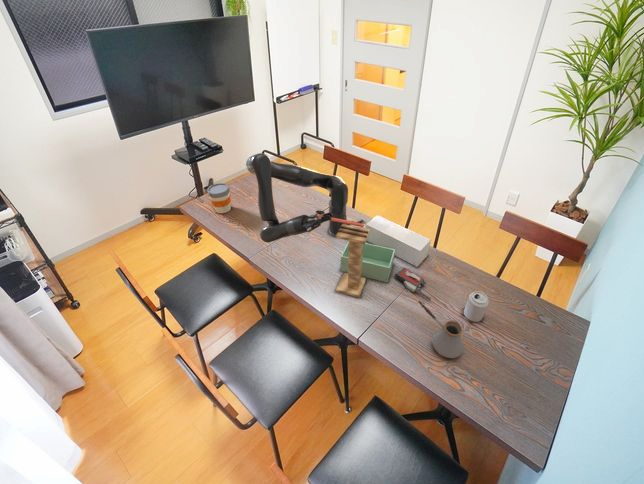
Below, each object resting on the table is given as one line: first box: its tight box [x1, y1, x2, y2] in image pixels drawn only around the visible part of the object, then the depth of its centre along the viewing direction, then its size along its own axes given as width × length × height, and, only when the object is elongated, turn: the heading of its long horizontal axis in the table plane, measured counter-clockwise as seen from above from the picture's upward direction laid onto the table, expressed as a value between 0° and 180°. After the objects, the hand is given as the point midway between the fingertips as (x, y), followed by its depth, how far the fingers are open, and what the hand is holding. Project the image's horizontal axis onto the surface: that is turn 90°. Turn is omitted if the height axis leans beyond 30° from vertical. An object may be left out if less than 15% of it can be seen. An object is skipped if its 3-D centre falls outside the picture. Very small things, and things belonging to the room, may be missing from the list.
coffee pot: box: [416, 300, 464, 359], centre depth 125 cm, size 21×12×15 cm, turn 45°
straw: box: [317, 215, 365, 228], centre depth 132 cm, size 20×1×1 cm, turn 71°
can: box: [463, 290, 490, 323], centre depth 135 cm, size 8×8×12 cm
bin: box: [340, 240, 395, 283], centre depth 159 cm, size 23×13×10 cm, turn 71°
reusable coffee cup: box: [206, 182, 232, 214], centre depth 198 cm, size 13×13×15 cm
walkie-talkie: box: [394, 267, 432, 301], centre depth 151 cm, size 9×4×20 cm
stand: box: [335, 224, 370, 298], centre depth 142 cm, size 12×11×33 cm
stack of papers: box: [365, 214, 432, 268], centre depth 170 cm, size 32×11×11 cm, turn 49°
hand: (330, 215), depth 132 cm, fingers closed on straw, 1 cm apart
